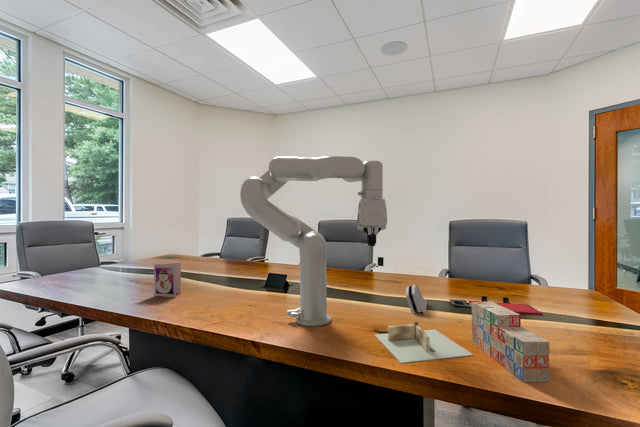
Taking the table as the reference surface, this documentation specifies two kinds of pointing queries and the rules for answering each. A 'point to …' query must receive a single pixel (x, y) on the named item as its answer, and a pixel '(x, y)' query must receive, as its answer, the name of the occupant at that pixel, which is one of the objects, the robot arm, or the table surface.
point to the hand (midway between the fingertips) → (371, 245)
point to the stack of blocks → (510, 342)
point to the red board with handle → (506, 304)
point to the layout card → (416, 352)
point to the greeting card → (167, 279)
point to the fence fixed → (402, 332)
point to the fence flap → (422, 338)
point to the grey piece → (415, 299)
